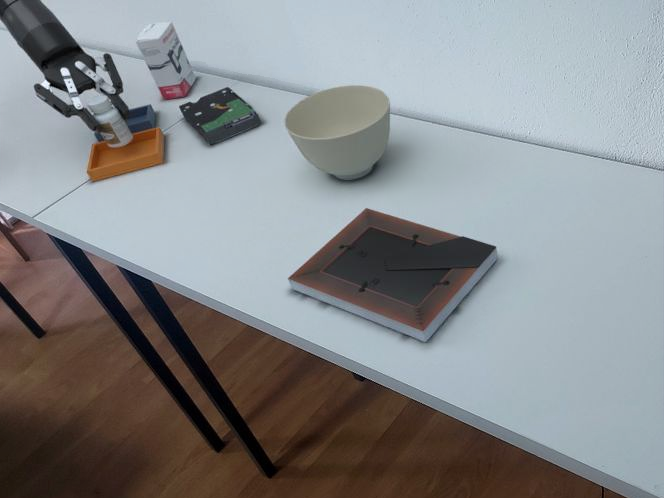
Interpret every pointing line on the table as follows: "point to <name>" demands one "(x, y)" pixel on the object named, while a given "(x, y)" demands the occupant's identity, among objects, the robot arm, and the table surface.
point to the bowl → (341, 129)
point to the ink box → (166, 59)
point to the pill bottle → (110, 122)
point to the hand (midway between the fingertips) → (113, 123)
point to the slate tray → (137, 120)
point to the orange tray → (126, 155)
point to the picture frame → (395, 272)
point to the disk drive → (220, 115)
